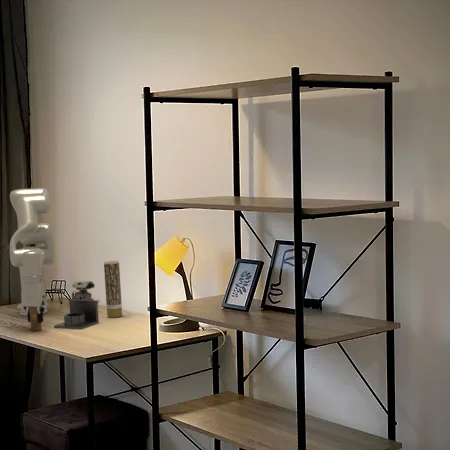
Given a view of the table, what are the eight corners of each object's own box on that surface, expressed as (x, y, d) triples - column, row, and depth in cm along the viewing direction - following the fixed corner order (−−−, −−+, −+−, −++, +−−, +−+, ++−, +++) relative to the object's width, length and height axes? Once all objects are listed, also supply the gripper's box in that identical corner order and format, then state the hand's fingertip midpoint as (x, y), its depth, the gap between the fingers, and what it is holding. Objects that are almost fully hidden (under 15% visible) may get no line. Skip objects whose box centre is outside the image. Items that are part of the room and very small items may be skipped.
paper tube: (119, 317, 369) (116, 262, 367) (105, 318, 371) (101, 263, 368) (124, 314, 376) (121, 260, 374) (110, 314, 377) (106, 260, 375)
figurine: (83, 316, 378) (81, 283, 377) (70, 313, 387) (68, 281, 385) (100, 312, 384) (98, 280, 383) (87, 309, 393) (85, 278, 391)
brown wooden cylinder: (28, 330, 351) (26, 298, 350) (35, 328, 355) (33, 296, 354) (37, 331, 349) (34, 298, 348) (43, 329, 353) (41, 296, 352)
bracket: (72, 321, 367) (71, 299, 366) (98, 323, 360) (97, 300, 360) (54, 327, 355) (52, 304, 354) (81, 329, 349) (79, 306, 348)
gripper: (11, 280, 350) (14, 322, 352) (42, 281, 343) (45, 324, 345) (22, 277, 357) (25, 319, 359) (54, 278, 350) (57, 321, 351)
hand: (35, 321), depth 352 cm, fingers closed on brown wooden cylinder, 4 cm apart
